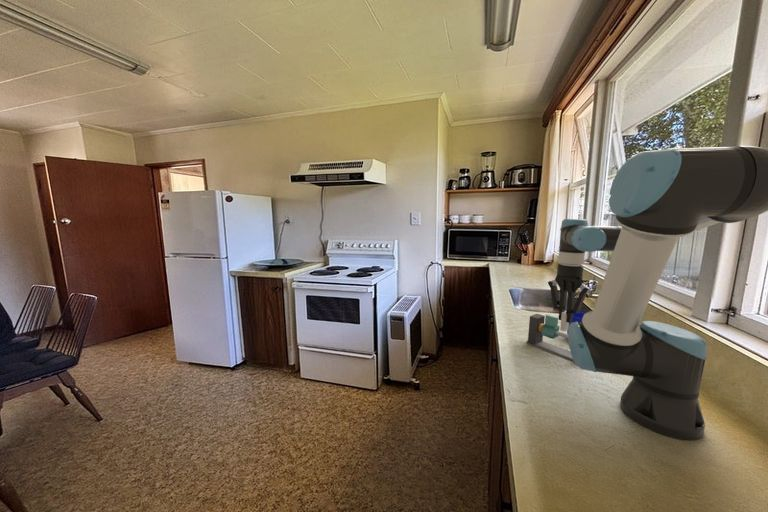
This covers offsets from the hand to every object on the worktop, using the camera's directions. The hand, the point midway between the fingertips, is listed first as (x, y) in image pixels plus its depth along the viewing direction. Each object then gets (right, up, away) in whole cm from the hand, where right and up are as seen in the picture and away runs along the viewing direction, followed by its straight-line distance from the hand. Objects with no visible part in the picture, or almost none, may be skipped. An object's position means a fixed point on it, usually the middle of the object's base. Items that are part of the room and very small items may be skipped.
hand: (564, 329), depth 103 cm
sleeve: (-2, -3, +5) cm, 6 cm away
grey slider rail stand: (-1, -9, +3) cm, 9 cm away
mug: (+16, -7, +14) cm, 22 cm away
